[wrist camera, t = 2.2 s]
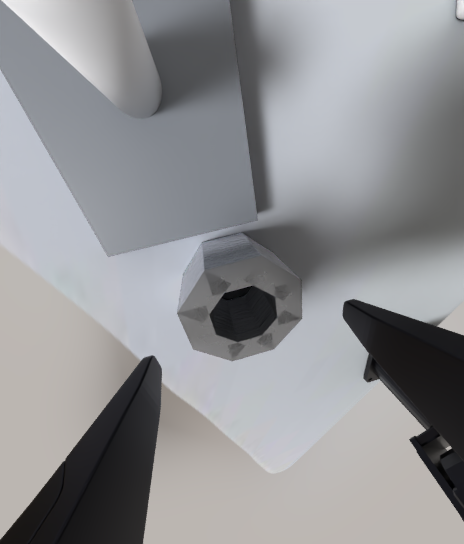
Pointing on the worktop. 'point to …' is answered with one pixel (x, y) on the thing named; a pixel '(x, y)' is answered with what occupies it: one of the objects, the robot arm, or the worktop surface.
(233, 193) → the block
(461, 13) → the jar
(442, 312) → the worktop surface
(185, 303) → the hub ring
